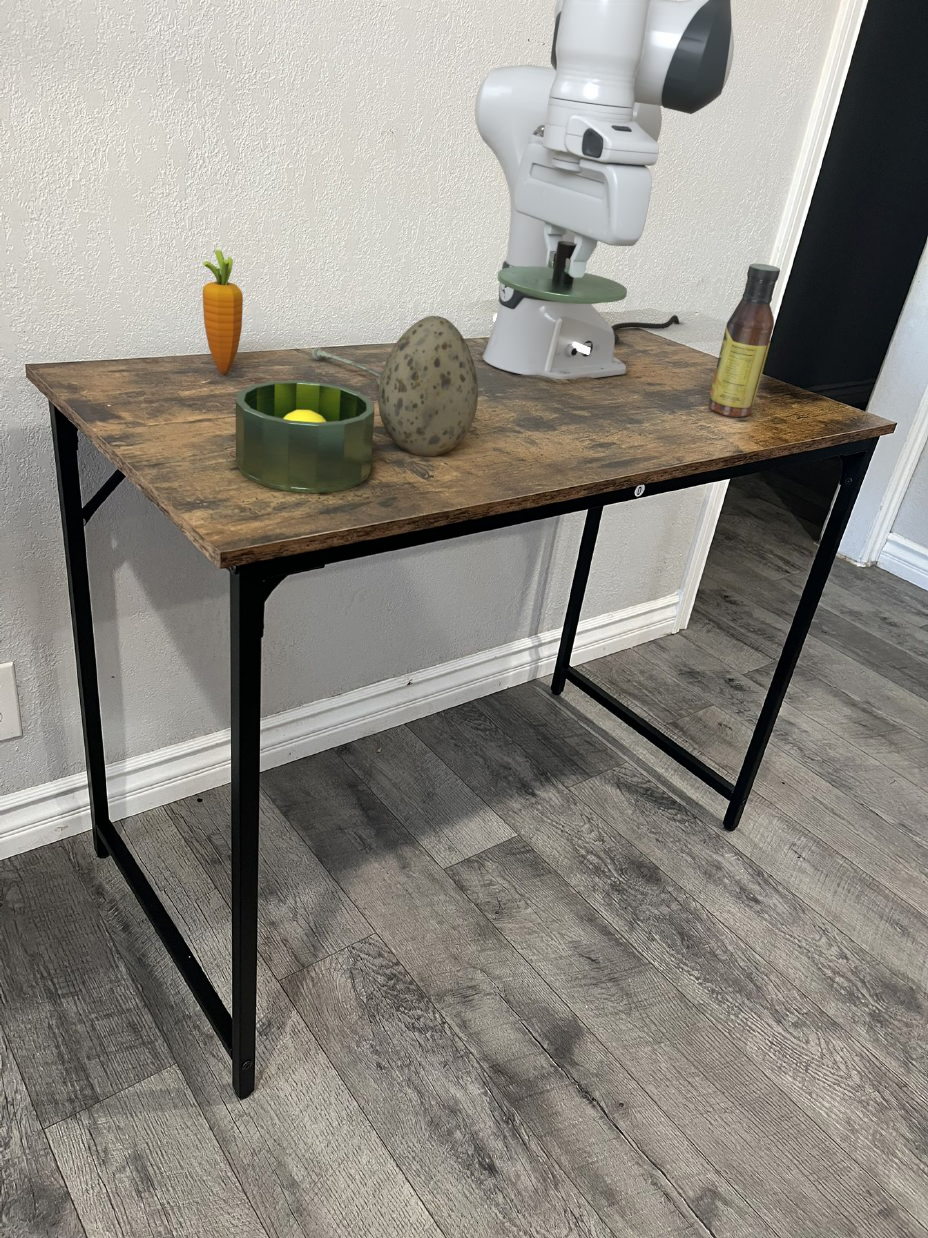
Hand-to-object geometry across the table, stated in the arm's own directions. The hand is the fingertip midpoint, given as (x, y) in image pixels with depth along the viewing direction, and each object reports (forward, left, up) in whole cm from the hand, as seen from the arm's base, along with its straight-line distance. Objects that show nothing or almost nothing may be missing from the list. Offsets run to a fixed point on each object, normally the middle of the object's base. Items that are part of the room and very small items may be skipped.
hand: (564, 272), depth 105 cm
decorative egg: (+17, +2, -20) cm, 26 cm away
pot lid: (0, 0, -2) cm, 2 cm away
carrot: (+30, -29, -20) cm, 46 cm away
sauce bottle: (-35, -4, -20) cm, 40 cm away
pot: (+31, +3, -19) cm, 37 cm away
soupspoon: (+12, -24, -20) cm, 33 cm away
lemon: (+31, +3, -19) cm, 37 cm away
